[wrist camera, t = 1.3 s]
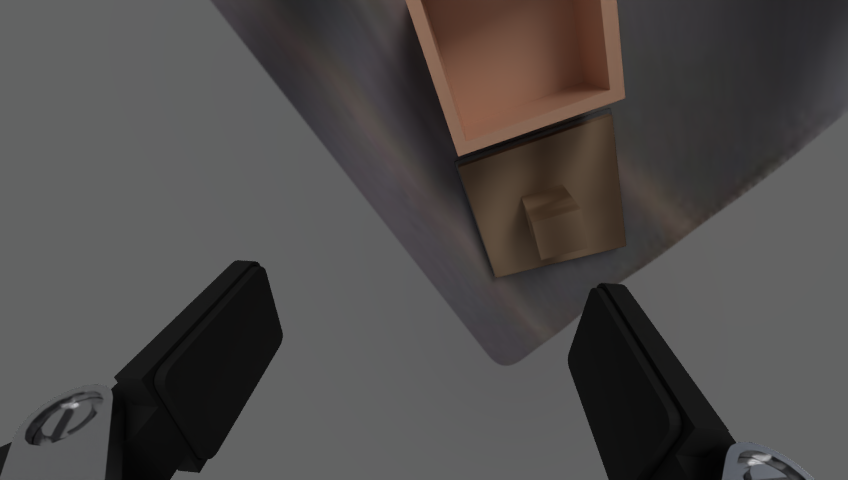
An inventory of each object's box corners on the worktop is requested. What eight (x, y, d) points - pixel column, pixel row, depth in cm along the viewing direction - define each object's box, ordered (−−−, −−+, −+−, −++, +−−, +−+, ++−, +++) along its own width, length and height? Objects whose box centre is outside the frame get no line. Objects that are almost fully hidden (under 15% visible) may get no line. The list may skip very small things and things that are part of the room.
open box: (569, -90, 21) (604, -133, 16) (592, 87, 26) (625, 98, 21) (410, -10, 24) (397, -25, 19) (458, 136, 29) (458, 156, 24)
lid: (608, 113, 26) (642, 129, 21) (622, 241, 32) (652, 278, 27) (458, 164, 30) (458, 189, 25) (495, 273, 35) (501, 311, 30)
